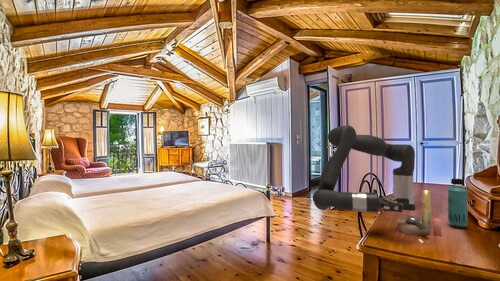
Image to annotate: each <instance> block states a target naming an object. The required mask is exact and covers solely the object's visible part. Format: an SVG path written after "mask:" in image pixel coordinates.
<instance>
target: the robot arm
mask: <svg viewBox="0 0 500 281" xmlns="http://www.w3.org/2000/svg"><path fill="white" fill-rule="evenodd" d="M327 134H328V135H327V138H328V139H327V140H328V142H329V143H330V144H331V145H332V146H333V147H335V148H336V149H335V151H334V153H333V154H332V155H331V157H329V159H328V160H327V162H326V163H325V165H324V166H323V168H322V171H321V175H320V177H319V183H318V184H319V186H318V188H317V190H316V191H314V193H313V194H312V201H313V204H314V206H315V208H317V209H318V210H321V211H325V210H328V209H329V208H330V207H332V208H338V209H339V210H345V211H354V212H355V211H356V212H365V213H378V212H380V210H379V208H381V209H383V211H384V212H394V213H395V212H396V213H403V211H412V212H414V211H415V210H416V205H415V204H414V202H415V201H414V199H415V198H414V195H415V194H414V171H415V161H416V160H415V158H416V151H415V149H414V147H413V145H411V144H400V143H399V144H396V143H395V144H393V143H387V142H386V141H385V140H384V139H383V138H381V137H379V136H374V135H370V134H357V132H356V130H355V128H354V127H353V126H351V125H349V124H348V125H347V124H346V125H342V126H337V127H334V128H333V129H331V130H330V131H329V132H328V133H327ZM351 150H354V151H357V152H361V153H363V154H368V155H371V156H374V157H375V156H376V157H383V158H386V159H389V160H391V161H393V162H398V163H401V164H400V166H399V167H396V168H393V169H392V195H379V194H378V192H364V191H362V192H361V191H356V192H351V191H350V192H349V191H348V192H347V191H343V192H342V191H337V190H335V188H336V186H337V183H338V180H339V176H340V173H341V171H342V168H343V165H344V163H345V162H346V159H347V158H348V156H349V154H350V152H351Z"/></svg>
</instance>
